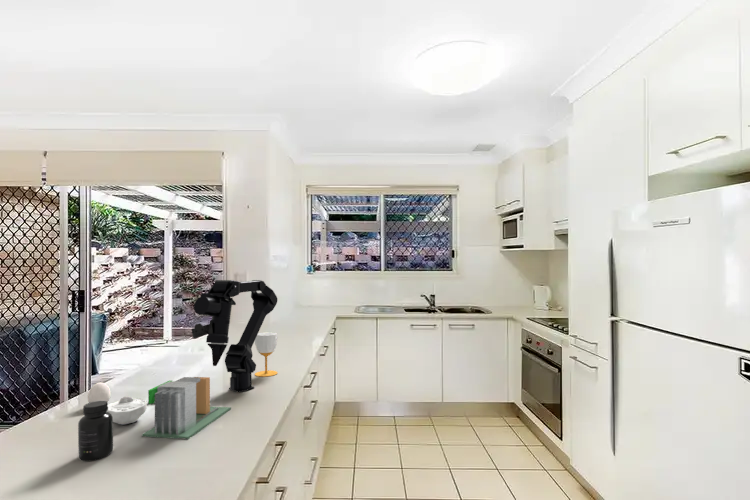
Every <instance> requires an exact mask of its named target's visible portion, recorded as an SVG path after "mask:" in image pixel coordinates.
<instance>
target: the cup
mask: <svg viewBox="0 0 750 500" xmlns="http://www.w3.org/2000/svg"><path fill="white" fill-rule="evenodd" d="M277 334H278V333H277V332H271V331H267V332H265V331H264V332H258V334H257V336H256V339H255V341H254V345H255V348H256V351H257V353H258V354H260V356H263V357H264V370H260V371H257V372H254V376H255V377H258V378H268V377H274V376H276V375H278V371H276V370H271V369H270V370H268V357H269V356H271V355H272V354H273V352H275V349H276V347H277V342H278V336H277Z"/></svg>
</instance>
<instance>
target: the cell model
mask: <svg viewBox="0 0 750 500" xmlns="http://www.w3.org/2000/svg"><path fill="white" fill-rule="evenodd" d="M147 404H148V402H147V401H146V400H144V399H142V398H133V397H131V396H129V395H126V396H123V397H122V398H120V400H117V401H115V402H110V403H109V404H108V410H107V412H109V413H111V414H112V416H113V423H116V424H117V425H121V426H122V425H129V424H131V423H135V422H137V421H138V419H140V418H141V417H142V415H144V413H146V411H147Z"/></svg>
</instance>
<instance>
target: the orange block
mask: <svg viewBox="0 0 750 500" xmlns="http://www.w3.org/2000/svg"><path fill="white" fill-rule="evenodd" d="M197 377H198V378H200V382H198V383H196V413H197V414H207V413H208V412H210V406H211V378H210V377H207V376H202V377H201V376H197Z"/></svg>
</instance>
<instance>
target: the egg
mask: <svg viewBox="0 0 750 500" xmlns="http://www.w3.org/2000/svg"><path fill="white" fill-rule="evenodd" d="M111 394H112V392H111V389H110V387H109V386H108V384H106V383H105V382H97V383H95V384H94V385H92V386H91V388H90V389H89V391H88V393H87V401H88V403H91V402H95V401H107V402H108V403H109V401H110V398H111Z"/></svg>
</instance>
